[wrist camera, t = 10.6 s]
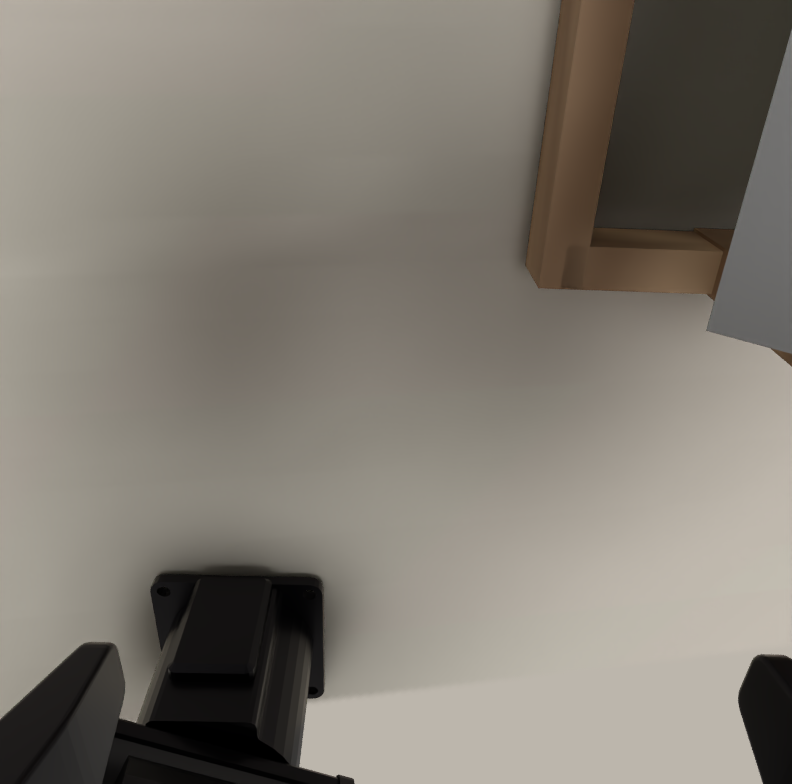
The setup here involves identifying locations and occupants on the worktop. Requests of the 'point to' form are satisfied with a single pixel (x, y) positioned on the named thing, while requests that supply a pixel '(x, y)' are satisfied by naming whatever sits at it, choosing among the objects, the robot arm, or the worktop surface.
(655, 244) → the trapdoor frame
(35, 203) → the worktop surface
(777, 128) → the trapdoor
